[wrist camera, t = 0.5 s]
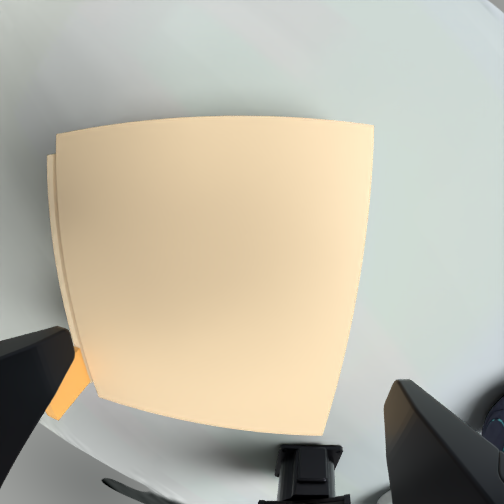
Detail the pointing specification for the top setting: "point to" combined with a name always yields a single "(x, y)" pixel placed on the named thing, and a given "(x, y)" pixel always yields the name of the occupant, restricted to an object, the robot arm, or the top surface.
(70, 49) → the top surface
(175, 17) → the top surface
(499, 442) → the portable speaker
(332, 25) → the top surface
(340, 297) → the carton
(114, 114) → the top surface
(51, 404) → the carton flap
